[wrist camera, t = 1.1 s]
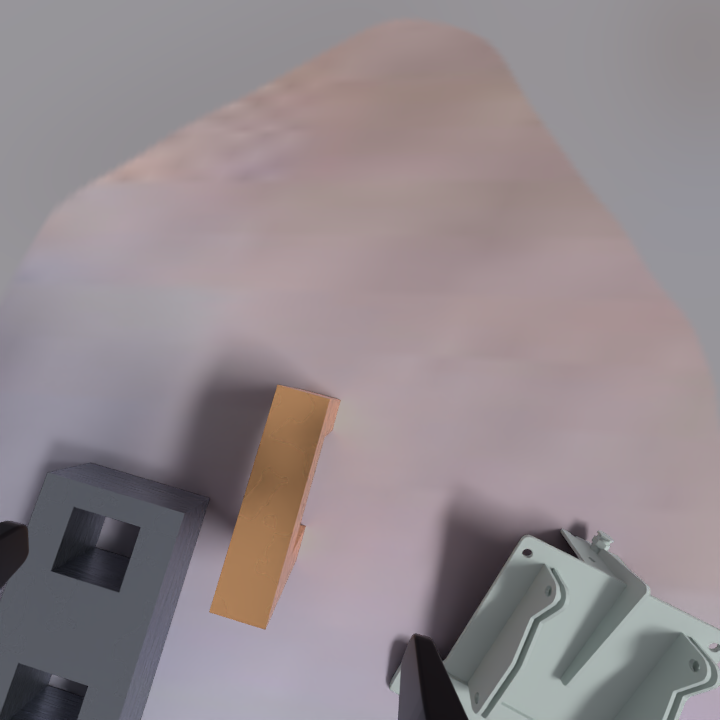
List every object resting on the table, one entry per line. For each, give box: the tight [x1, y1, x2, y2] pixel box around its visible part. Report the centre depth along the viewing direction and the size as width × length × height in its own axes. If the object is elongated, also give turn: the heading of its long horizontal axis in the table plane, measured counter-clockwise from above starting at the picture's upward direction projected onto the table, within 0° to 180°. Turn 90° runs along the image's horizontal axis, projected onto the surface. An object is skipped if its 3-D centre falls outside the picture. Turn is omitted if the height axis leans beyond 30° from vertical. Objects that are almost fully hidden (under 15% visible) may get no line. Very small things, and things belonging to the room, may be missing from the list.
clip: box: [209, 385, 340, 629], centre depth 18 cm, size 10×2×6 cm, turn 165°
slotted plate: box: [0, 463, 210, 720], centre depth 19 cm, size 14×8×3 cm, turn 165°
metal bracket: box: [389, 529, 720, 720], centre depth 19 cm, size 14×6×15 cm
